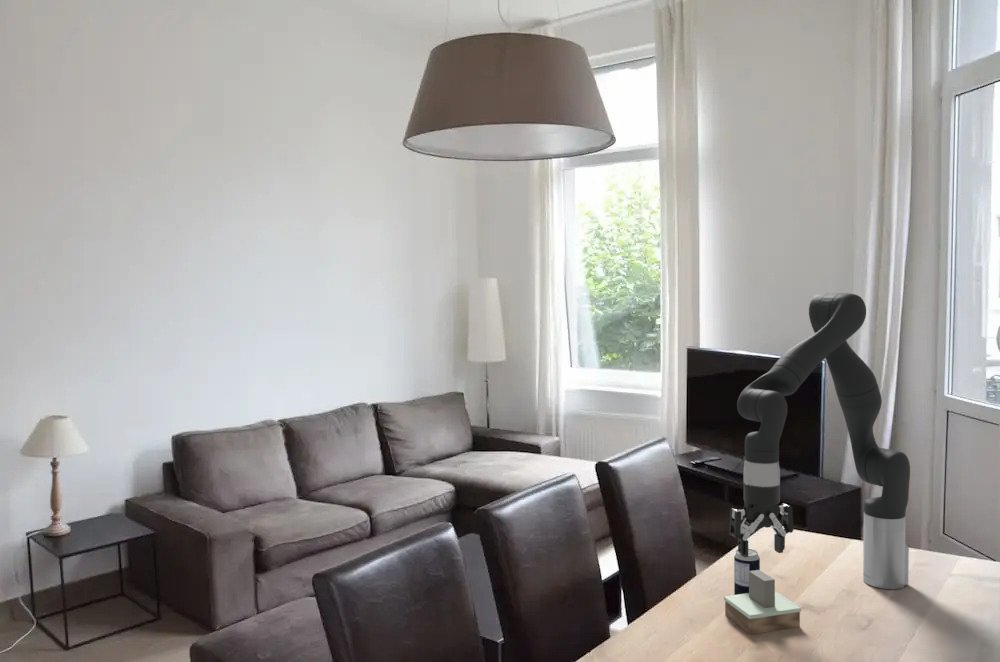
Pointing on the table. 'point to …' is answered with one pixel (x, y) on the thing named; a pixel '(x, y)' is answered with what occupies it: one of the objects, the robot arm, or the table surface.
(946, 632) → the table surface
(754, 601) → the lid
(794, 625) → the box
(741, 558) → the beverage can
